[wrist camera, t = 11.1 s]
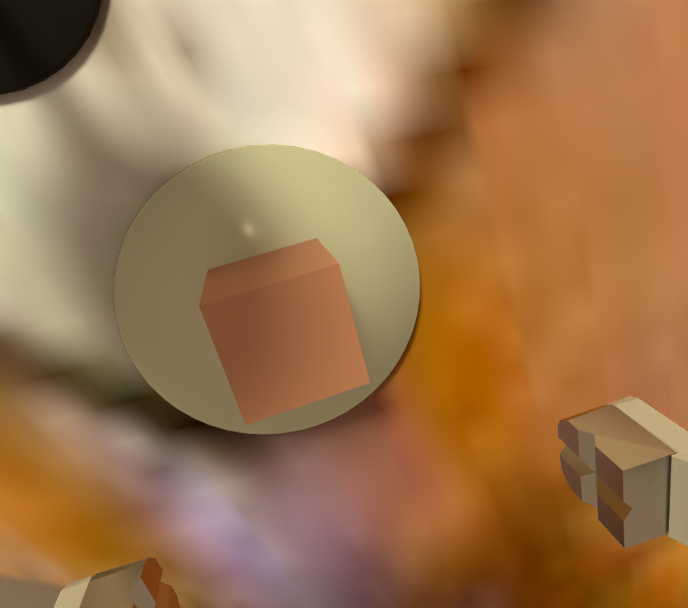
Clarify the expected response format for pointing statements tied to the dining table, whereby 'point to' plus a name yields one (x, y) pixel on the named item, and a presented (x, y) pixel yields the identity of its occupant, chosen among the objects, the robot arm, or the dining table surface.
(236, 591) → the dining table surface
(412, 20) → the dining table surface
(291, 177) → the tile
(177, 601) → the robot arm
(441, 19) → the dining table surface
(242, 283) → the orange cube
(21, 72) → the wine glass
